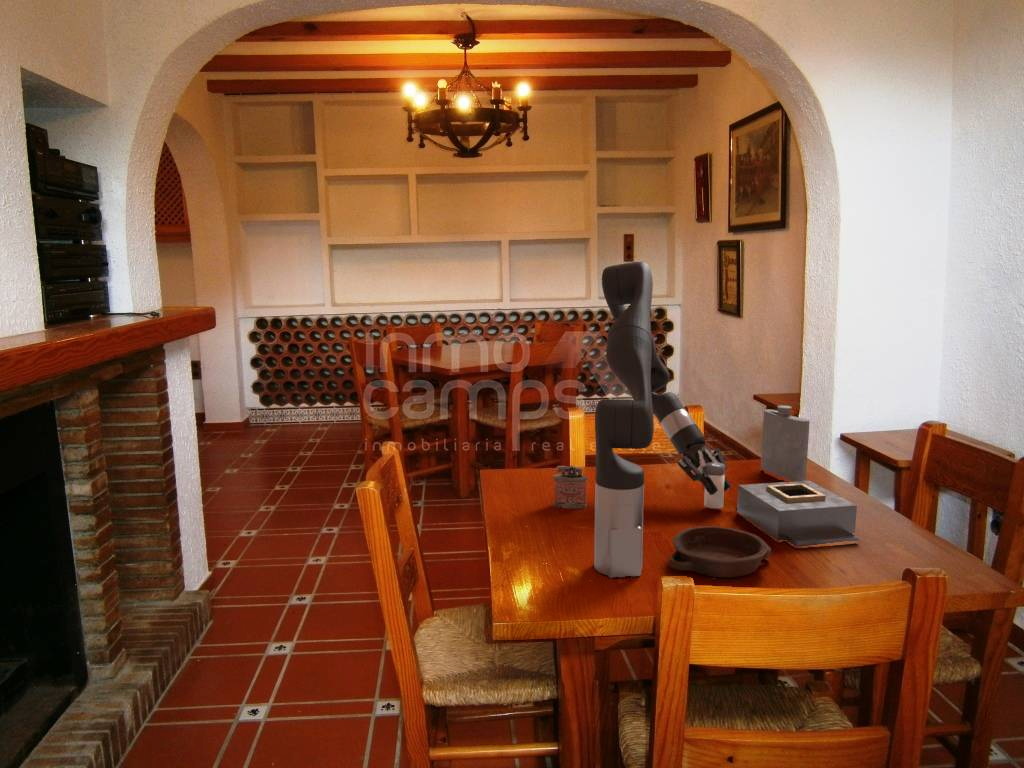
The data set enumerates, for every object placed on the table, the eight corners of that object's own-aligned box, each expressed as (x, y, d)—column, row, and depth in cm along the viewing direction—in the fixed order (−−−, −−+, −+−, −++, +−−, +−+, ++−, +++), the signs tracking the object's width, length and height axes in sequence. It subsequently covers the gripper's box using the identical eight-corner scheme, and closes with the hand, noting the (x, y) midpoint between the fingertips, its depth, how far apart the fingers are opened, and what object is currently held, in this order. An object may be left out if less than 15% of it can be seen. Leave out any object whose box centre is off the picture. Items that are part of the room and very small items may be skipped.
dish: (646, 556, 149) (647, 533, 148) (738, 542, 156) (739, 519, 155) (695, 592, 133) (696, 566, 132) (795, 574, 140) (796, 550, 139)
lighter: (586, 503, 180) (587, 464, 179) (586, 508, 177) (587, 468, 175) (553, 503, 181) (554, 463, 179) (553, 507, 178) (553, 467, 176)
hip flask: (808, 485, 194) (813, 411, 190) (795, 487, 192) (800, 412, 189) (767, 469, 208) (771, 400, 205) (755, 471, 207) (759, 401, 204)
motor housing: (866, 543, 154) (869, 507, 153) (787, 549, 151) (789, 512, 150) (798, 503, 180) (800, 471, 178) (729, 508, 177) (730, 475, 175)
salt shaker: (726, 507, 174) (728, 466, 172) (709, 509, 173) (710, 467, 171) (718, 501, 178) (719, 461, 176) (701, 503, 177) (702, 462, 176)
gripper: (672, 427, 174) (711, 488, 167) (710, 419, 183) (749, 477, 175) (654, 444, 179) (692, 505, 172) (692, 435, 188) (730, 493, 180)
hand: (721, 490), depth 173 cm, fingers closed on salt shaker, 4 cm apart
